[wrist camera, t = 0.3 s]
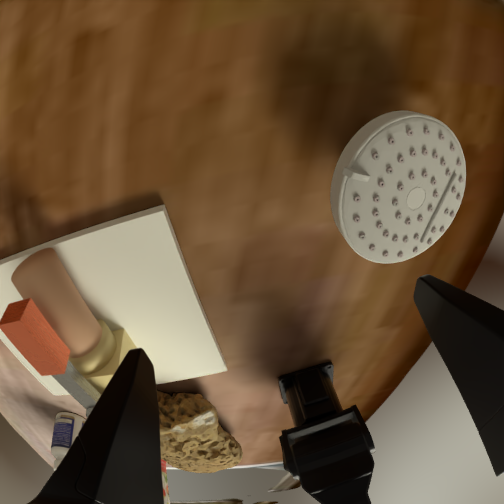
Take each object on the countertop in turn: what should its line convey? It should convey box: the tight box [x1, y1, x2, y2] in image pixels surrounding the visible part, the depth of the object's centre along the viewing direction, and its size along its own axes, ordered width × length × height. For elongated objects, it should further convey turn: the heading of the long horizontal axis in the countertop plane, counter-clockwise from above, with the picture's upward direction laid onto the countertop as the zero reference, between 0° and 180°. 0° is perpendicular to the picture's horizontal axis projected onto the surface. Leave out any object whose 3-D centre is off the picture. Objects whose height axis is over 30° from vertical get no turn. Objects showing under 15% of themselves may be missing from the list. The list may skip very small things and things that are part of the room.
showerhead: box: [330, 111, 466, 263], centre depth 18 cm, size 9×7×10 cm
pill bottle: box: [51, 412, 86, 471], centre depth 30 cm, size 5×5×9 cm
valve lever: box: [0, 298, 101, 418], centre depth 18 cm, size 13×3×2 cm, turn 11°
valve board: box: [0, 204, 227, 396], centre depth 23 cm, size 18×22×6 cm
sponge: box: [157, 391, 243, 473], centre depth 34 cm, size 13×8×20 cm
